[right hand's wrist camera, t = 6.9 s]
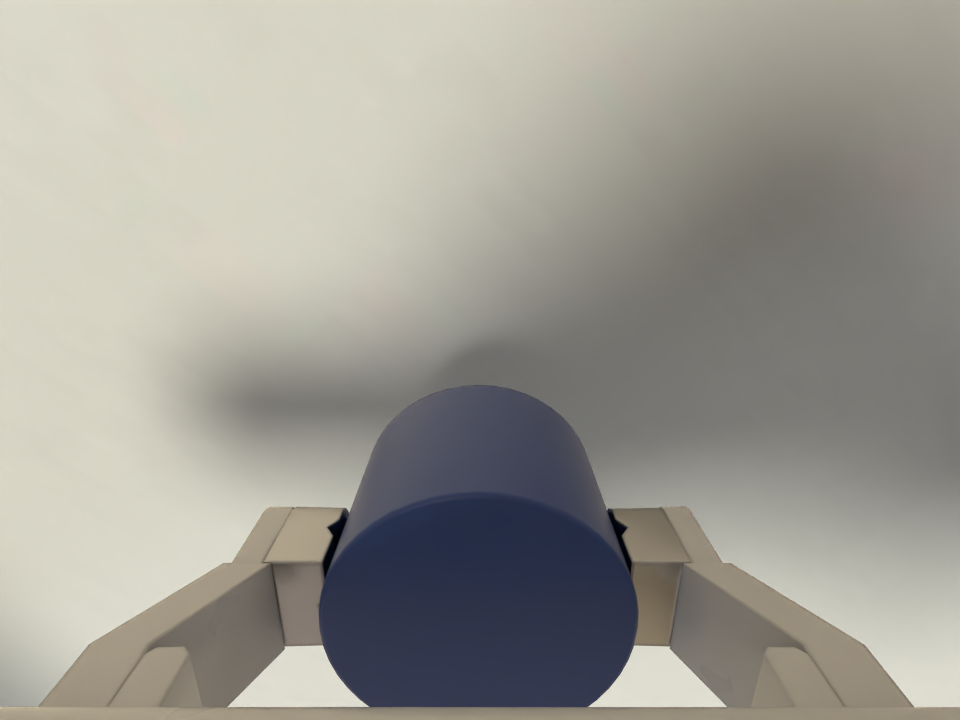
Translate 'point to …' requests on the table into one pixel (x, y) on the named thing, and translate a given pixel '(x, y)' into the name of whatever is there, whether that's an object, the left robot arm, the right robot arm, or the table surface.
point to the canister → (478, 563)
